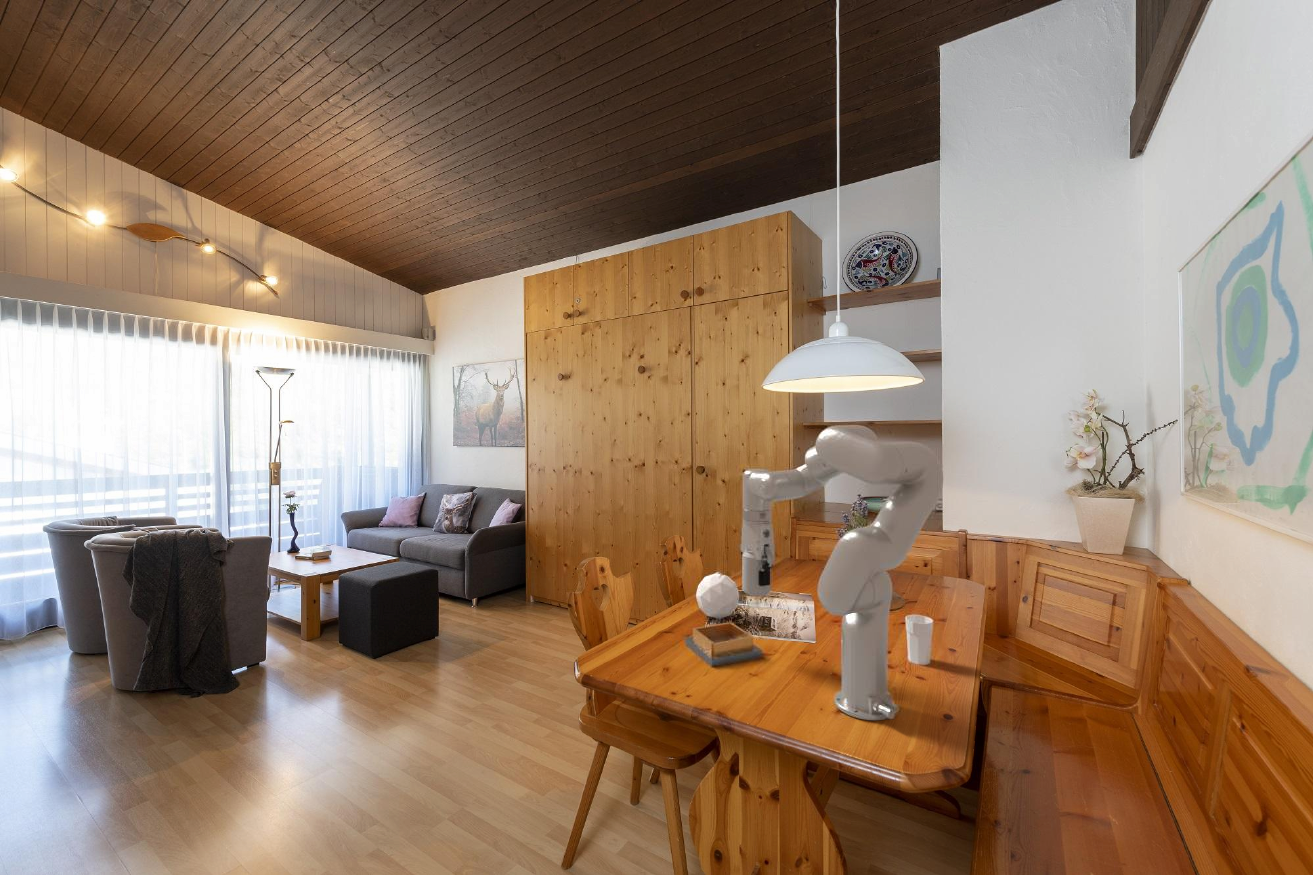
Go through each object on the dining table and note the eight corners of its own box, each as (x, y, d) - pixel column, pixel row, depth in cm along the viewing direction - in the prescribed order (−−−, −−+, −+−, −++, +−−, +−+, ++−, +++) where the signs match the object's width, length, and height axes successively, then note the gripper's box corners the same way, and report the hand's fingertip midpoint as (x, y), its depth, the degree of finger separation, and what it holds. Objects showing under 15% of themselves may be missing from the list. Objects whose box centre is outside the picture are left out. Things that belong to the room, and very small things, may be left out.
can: (770, 598, 147) (770, 552, 147) (741, 596, 149) (741, 551, 148) (770, 589, 155) (771, 546, 154) (743, 587, 156) (743, 544, 156)
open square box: (761, 657, 151) (761, 638, 151) (711, 666, 145) (711, 647, 145) (731, 636, 166) (731, 619, 166) (685, 644, 160) (685, 626, 160)
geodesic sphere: (690, 588, 193) (694, 562, 184) (731, 587, 195) (737, 560, 186) (696, 627, 182) (701, 601, 173) (740, 625, 183) (747, 599, 174)
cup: (906, 653, 153) (906, 613, 152) (933, 658, 150) (933, 617, 149) (904, 663, 147) (904, 621, 147) (932, 668, 144) (932, 625, 143)
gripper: (787, 520, 144) (786, 588, 145) (752, 509, 160) (751, 571, 161) (761, 522, 141) (761, 592, 142) (728, 511, 158) (728, 573, 159)
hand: (756, 580), depth 152 cm, fingers closed on can, 7 cm apart
